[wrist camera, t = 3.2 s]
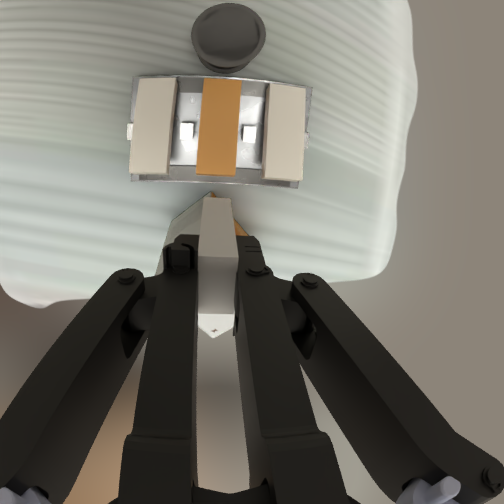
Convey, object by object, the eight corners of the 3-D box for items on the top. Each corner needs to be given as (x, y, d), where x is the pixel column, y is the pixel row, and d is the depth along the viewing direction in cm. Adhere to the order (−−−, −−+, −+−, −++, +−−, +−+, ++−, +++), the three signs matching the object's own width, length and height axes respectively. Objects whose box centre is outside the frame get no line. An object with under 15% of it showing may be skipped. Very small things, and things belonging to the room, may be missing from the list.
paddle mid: (204, 85, 26) (204, 78, 24) (239, 87, 26) (241, 80, 24) (196, 175, 27) (195, 173, 25) (233, 176, 28) (235, 175, 26)
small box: (252, 238, 37) (269, 308, 26) (212, 266, 38) (212, 341, 27) (211, 188, 33) (209, 243, 22) (169, 220, 35) (149, 286, 24)
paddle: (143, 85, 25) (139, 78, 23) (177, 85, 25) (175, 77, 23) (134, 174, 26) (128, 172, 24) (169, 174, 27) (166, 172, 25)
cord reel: (200, 22, 24) (195, 1, 17) (256, 26, 25) (269, 7, 18) (195, 72, 27) (187, 65, 20) (250, 75, 28) (261, 69, 21)
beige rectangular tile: (266, 90, 26) (270, 83, 25) (299, 95, 27) (305, 88, 25) (261, 178, 28) (265, 177, 26) (296, 181, 28) (302, 180, 26)
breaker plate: (137, 77, 26) (128, 76, 23) (306, 87, 29) (317, 87, 26) (135, 176, 31) (126, 185, 28) (293, 183, 34) (301, 193, 31)
